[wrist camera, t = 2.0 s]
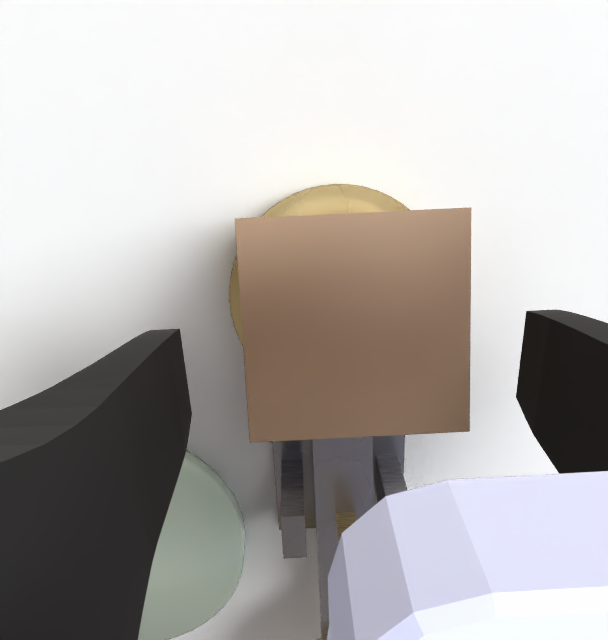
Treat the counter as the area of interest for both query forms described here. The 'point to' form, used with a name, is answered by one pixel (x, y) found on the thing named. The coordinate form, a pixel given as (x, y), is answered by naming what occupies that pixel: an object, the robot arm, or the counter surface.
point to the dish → (194, 555)
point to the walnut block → (356, 323)
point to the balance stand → (299, 485)
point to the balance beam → (334, 453)
